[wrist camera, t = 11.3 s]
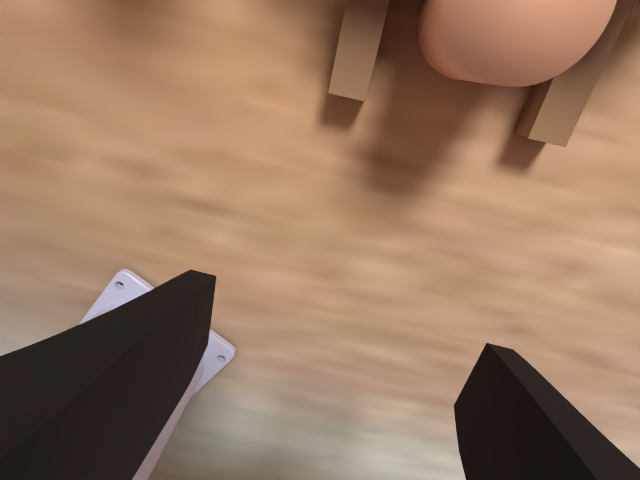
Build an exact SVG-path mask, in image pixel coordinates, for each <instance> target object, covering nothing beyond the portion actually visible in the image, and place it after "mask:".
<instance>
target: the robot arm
mask: <svg viewBox="0 0 640 480" xmlns="http://www.w3.org/2000/svg"><path fill="white" fill-rule="evenodd" d="M119 282H121V283H122V284H123V285H124V286H122V285H121V284H120V283H119ZM215 283H216V276H214V275H210V274H206V273H202V272H198V271H194V270H189V271H187V272H185V273H183V274H181V275H179V276H177V277H175V278H173V279H171V280H169V281H167V282H165V283H164V284H162V285H160V286H158V287H156V288H154V287H152V286H151V285H150V284H148V283H147V282H146V281H144V280H143V279H141V278H140V277H139V276H137V275H136V274H135V273H133V272H132V271H130V270H128V269H122V270H121V271H119V272H118V273H117V274H116V275H115V276H114V278H113V279H112V280H111V282H110V283H109V284H108V286H107V287H106V288H105V290H104V291H103V293H102V294H101V295H100V297H99V298H98V299H97V301H96V302H95V303H94V305H93V306H92V307H91V309H90V310H89V311H88V313H87V314H86V315H85V317H84V318H83V319H82V321H81V322H80V323H79V325H77V326H75V327H73V328H71V329H68V330H66V331H64V332H62V333H59V334H57V335H55V336H52V337H50V338H47V339H45V340H42V341H40V342H37V343H35V344H32V345H30V346H27V347H24V348H22V349H19V350H16V351H14V352H11V353H8V354H5V355H3V356H0V480H148V479H149V477H150V475H151V473H152V471H153V469H154V467H155V465H156V463H157V461H158V459H159V457H160V456H161V454H162V452H163V450H164V448H165V446H166V444H167V442H168V440H169V438H170V436H171V434H172V432H173V431H174V429H175V427H176V425H177V423H178V421H179V419H180V417H181V415H182V413H183V411H184V409H185V408H186V406H187V404H188V402H189V400H190V398H191V397H192V396H193V395H194V394H195V393H197V392H198V391H199V390H200V389H201V388H202V387H203V386H204V385H205V384H206V383H207V382H208V381H209V380H210V379H212V378H213V377H214V376H215V375H216V374H217V373H218V372H219V371H220V370H221V369H222V368H223V367H224V366H225V365H226V364H228V363H229V362H230V361H231V360H232V359H233V358H234V356H235V354H236V349H235V347H234V346H233V345H231V344H230V343H229V342H227V341H226V340H225V339H223V338H222V337H220V336H219V335H218V334H216V333H215V332H214V331H212V330H211V329H210V324H211V316H212V307H213V299H214V291H215ZM220 355H222V356H224V357H225V358H223V357H221V356H220ZM454 411H455V421H456V431H457V438H458V446H459V452H460V456H461V461H462V465H463V469H464V473H465V477H466V480H640V468H639V467H638V466H636V465H635V464H634V463H633V462H632V461H631V460H630V459H629V458H628V457H626V456H625V455H624V454H623V453H622V452H621V451H620V450H619V449H618V448H617V447H616V446H615V445H614V444H612V443H611V442H610V441H609V440H608V439H607V438H606V437H605V436H604V435H603V434H602V433H601V432H600V431H599V430H598V429H597V428H595V427H594V426H593V425H592V424H591V423H590V422H589V421H588V420H587V419H586V418H585V417H584V416H583V415H582V414H581V413H580V412H579V411H578V410H577V409H576V408H575V407H574V406H573V405H572V404H571V403H570V402H569V401H568V400H567V399H565V398H564V397H563V396H562V395H561V394H560V393H559V392H558V391H557V390H556V389H555V388H554V387H553V386H552V385H551V384H550V383H549V382H548V381H547V380H546V379H545V378H544V377H543V376H542V375H541V374H540V373H539V372H538V371H537V370H536V369H534V368H533V367H532V366H531V365H530V364H529V363H528V362H527V361H526V360H525V359H524V358H522V357H521V356H520V355H519V354H518V353H516V352H515V351H514V350H513V349H509V348H505V347H501V346H497V345H493V344H489V343H486V345H485V347H484V349H483V351H482V353H481V355H480V357H479V359H478V361H477V363H476V364H475V366H474V368H473V370H472V372H471V374H470V376H469V378H468V380H467V382H466V384H465V385H464V387H463V389H462V391H461V393H460V395H459V397H458V399H457V401H456V403H455V405H454Z"/></svg>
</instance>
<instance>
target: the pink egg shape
mask: <svg viewBox="0 0 640 480" xmlns="http://www.w3.org/2000/svg"><path fill="white" fill-rule="evenodd" d="M616 2H617V0H425V1H424V3H423V5H422V8H421V11H420V15H419V20H418V41H419V46H420V49H421V52H422V54H423V56H424V58H425V60H426V61H427V62H428V64H429V65H430V66H431V67H432V68H433V69H434V70H435V71H437V72H438V73H439V74H441V75H443V76H445V77H448V78H451V79H457V80H463V81H470V82H477V83H484V84H491V85H498V86H505V87H523V86H530V85H534V84H538V83H541V82H544V81H547V80H549V79H551V78H553V77H555V76H558V75H559V74H561V73H562V72H564V71H566V70H567V69H569V68H570V67H571V66H573V65H574V64H575V63H576V62H578V61H579V60H580V59H581V58H582V57H583V56H584V55H585V54H586V53H587V52H588V51H589V50H590V49H591V47H592V46H593V45H594V44H595V43H596V41H597V40H598V38H599V37H600V36H601V34H602V33H603V31H604V29H605V27H606V26H607V24H608V22H609V20H610V18H611V15H612V13H613V11H614V8H615V5H616Z"/></svg>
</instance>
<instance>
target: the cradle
mask: <svg viewBox="0 0 640 480" xmlns="http://www.w3.org/2000/svg"><path fill="white" fill-rule="evenodd" d="M389 2H390V0H347V1H346V6H345V11H344V16H343V21H342V26H341V31H340V36H339V41H338V46H337V51H336V56H335V61H334V66H333V71H332V76H331V81H330V86H329V91H328V93H330V94H334V95H338V96H343V97H347V98H352V99H356V100H360V101H366V97H367V93H368V89H369V85H370V80H371V76H372V72H373V68H374V64H375V60H376V56H377V51H378V47H379V43H380V39H381V35H382V31H383V27H384V22H385V18H386V14H387V10H388V6H389ZM634 2H635V0H617V2H616V5H615V8H614V11H613V13H612V15H611V18H610V20H609V22H608V24H607V26H606V27H605V29H604V31H603V33H602V34H601V36H600V37H599V38H598V40H597V41H596V43H595V44H594V45H593V46H592V47H591V49H590V50H589V51H588V52H587V53H586V54H585V55H584V56H583V57H582V58H581V59H580V60H579V61H578V62H576V63H575V64H574V65H573V66H571V67H570V68H569V69H567V70H566V71H564V72H562V73H561V74H559V75H558V76H555V77H553V78H551V79H549V80H547V81H544V82H541V83H538V84H534V85H533V88H532V90H531V93H530V95H529V98H528V100H527V102H526V105H525V107H524V110H523V112H522V115H521V117H520V119H519V122H518V124H517V127H516V129H515V131H514V133H516V134H519V135H521V136H523V137H525V138H528V139H532V140H537V141H541V142H545V143H550V144H554V145H559V146H563V147H566V145H567V143H568V141H569V138H570V136H571V134H572V132H573V130H574V128H575V126H576V124H577V122H578V120H579V117H580V115H581V113H582V111H583V109H584V107H585V105H586V103H587V101H588V99H589V97H590V94H591V92H592V90H593V88H594V86H595V84H596V82H597V80H598V78H599V76H600V73H601V71H602V69H603V67H604V65H605V63H606V61H607V59H608V57H609V55H610V52H611V50H612V48H613V46H614V44H615V42H616V40H617V38H618V36H619V34H620V32H621V29H622V27H623V25H624V23H625V21H626V19H627V17H628V15H629V13H630V11H631V8H632V6H633V4H634Z"/></svg>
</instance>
